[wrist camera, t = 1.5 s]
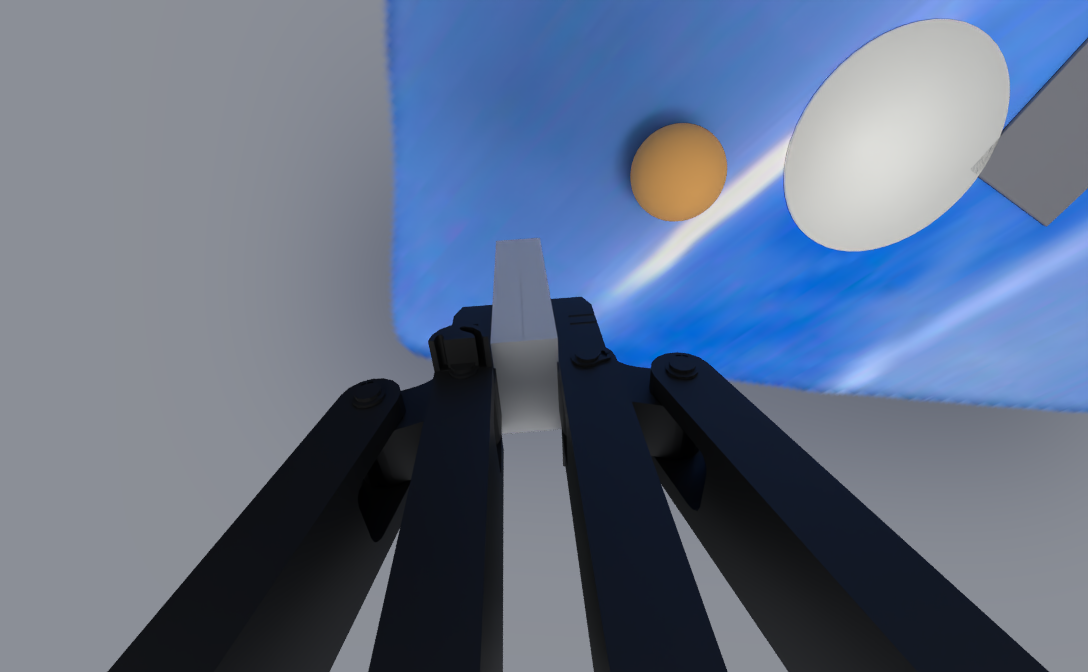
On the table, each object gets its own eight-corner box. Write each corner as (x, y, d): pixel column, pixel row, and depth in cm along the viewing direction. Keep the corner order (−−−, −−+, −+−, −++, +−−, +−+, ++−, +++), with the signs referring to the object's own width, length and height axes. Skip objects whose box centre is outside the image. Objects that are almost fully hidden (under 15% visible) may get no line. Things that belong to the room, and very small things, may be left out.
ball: (686, 97, 28) (721, 107, 23) (719, 176, 30) (757, 199, 26) (606, 151, 29) (625, 170, 24) (644, 222, 32) (668, 251, 27)
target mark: (998, -41, 25) (1001, -41, 25) (1013, 179, 32) (1016, 179, 32) (754, 114, 28) (756, 115, 28) (814, 284, 35) (816, 285, 35)
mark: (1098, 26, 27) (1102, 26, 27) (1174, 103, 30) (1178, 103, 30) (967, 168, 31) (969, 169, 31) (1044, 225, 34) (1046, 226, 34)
